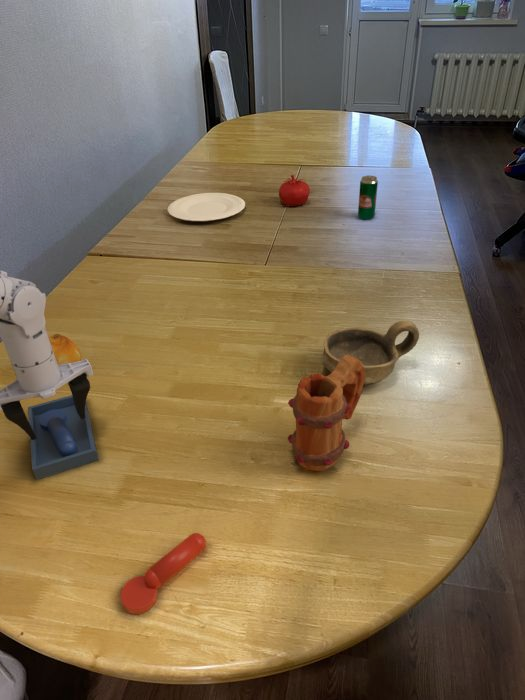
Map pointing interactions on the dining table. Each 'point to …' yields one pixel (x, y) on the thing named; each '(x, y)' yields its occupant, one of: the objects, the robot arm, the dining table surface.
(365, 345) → the bowl
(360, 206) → the soda can
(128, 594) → the red spoon
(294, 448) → the mug
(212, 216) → the plate
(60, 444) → the blue spoon
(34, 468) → the tray
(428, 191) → the dining table surface
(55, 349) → the fruit
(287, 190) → the pomegranate
